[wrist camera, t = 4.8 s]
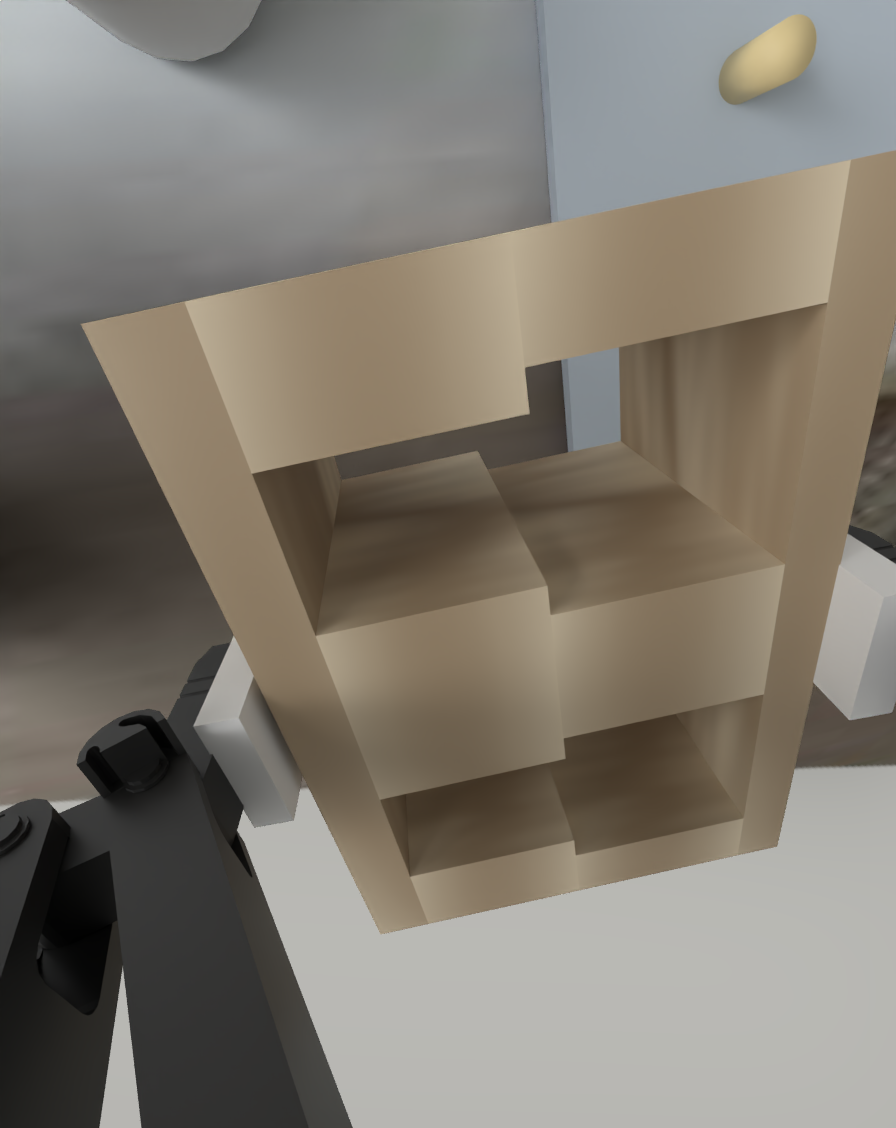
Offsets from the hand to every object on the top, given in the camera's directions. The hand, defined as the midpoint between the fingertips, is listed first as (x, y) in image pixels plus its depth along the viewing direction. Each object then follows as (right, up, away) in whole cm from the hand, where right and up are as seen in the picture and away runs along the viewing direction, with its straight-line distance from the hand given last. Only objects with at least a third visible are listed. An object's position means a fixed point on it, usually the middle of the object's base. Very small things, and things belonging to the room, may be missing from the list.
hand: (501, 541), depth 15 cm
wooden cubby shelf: (0, +1, +1) cm, 1 cm away
